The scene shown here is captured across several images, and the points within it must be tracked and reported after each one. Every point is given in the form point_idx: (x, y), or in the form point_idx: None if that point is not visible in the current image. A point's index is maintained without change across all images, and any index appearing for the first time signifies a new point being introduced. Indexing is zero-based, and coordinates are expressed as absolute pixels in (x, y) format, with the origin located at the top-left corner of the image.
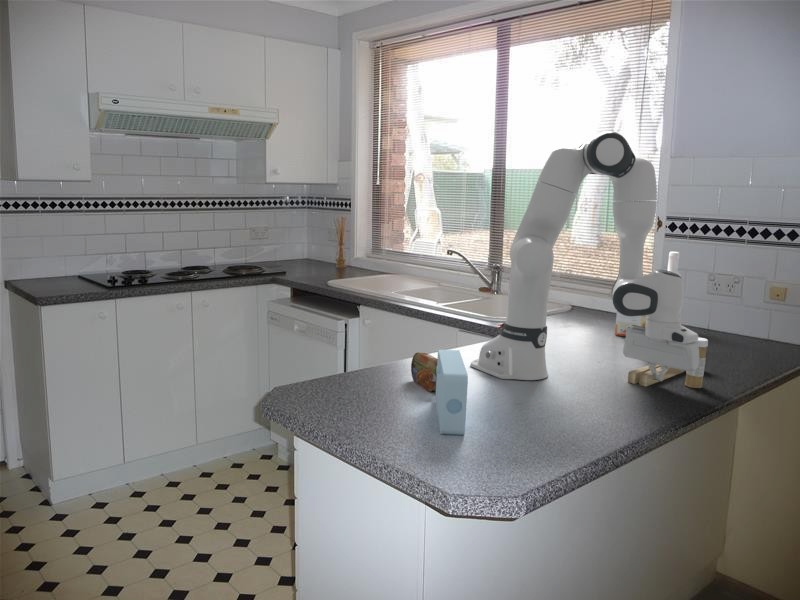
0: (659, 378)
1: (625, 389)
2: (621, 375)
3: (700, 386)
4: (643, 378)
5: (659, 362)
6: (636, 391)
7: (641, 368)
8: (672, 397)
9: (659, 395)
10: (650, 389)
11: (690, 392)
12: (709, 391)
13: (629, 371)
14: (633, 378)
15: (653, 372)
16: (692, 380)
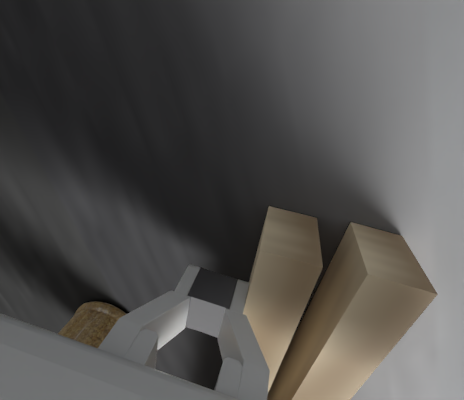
0: (189, 273)
1: (406, 7)
2: (452, 346)
3: (74, 314)
4: (289, 239)
5: (122, 386)
6: (300, 23)
7: (339, 395)
8: (66, 74)
9: (134, 54)
10: (228, 163)
11: (71, 237)
12: (43, 289)
13: (429, 301)
14: (369, 245)
15: (227, 314)
16: (78, 328)
